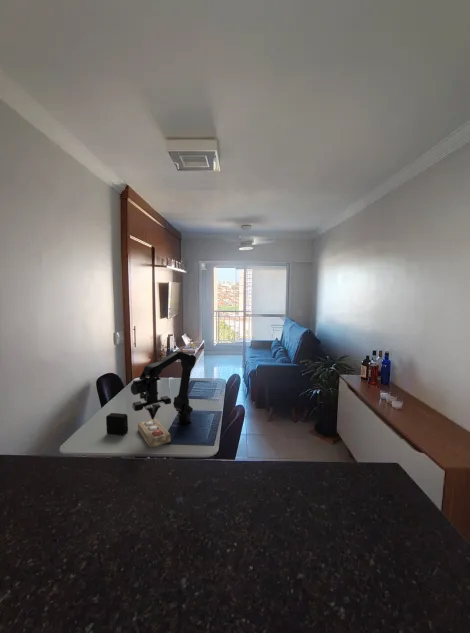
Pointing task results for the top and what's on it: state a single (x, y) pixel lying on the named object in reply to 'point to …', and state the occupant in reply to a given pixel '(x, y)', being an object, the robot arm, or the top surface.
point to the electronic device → (117, 424)
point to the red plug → (157, 432)
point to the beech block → (148, 434)
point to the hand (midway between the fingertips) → (152, 419)
